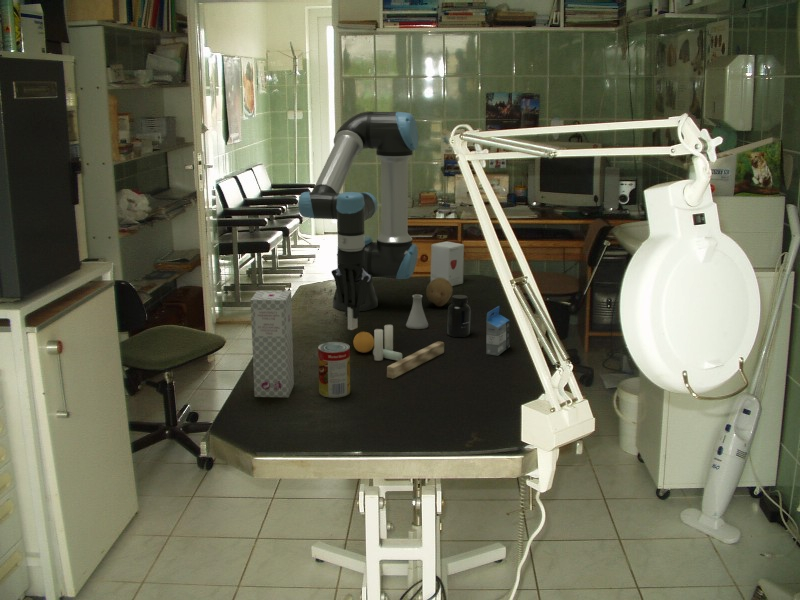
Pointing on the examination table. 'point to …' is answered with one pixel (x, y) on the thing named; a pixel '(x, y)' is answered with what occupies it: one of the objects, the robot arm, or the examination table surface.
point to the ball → (363, 342)
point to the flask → (417, 314)
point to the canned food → (334, 369)
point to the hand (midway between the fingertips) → (352, 328)
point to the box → (272, 343)
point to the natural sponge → (439, 291)
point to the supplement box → (447, 262)
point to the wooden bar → (415, 359)
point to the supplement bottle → (459, 317)
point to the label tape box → (497, 333)
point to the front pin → (391, 355)
